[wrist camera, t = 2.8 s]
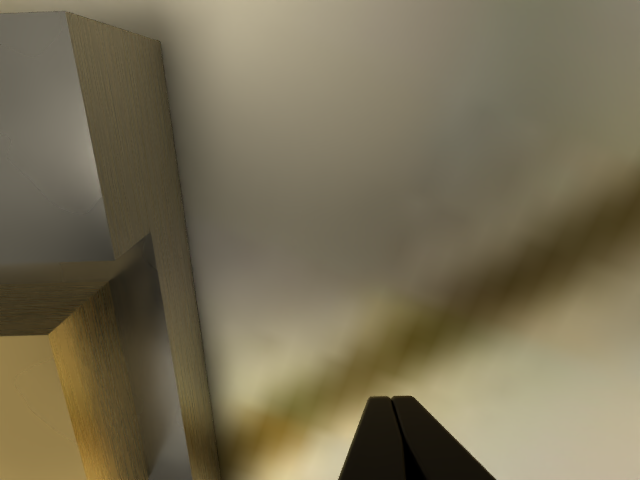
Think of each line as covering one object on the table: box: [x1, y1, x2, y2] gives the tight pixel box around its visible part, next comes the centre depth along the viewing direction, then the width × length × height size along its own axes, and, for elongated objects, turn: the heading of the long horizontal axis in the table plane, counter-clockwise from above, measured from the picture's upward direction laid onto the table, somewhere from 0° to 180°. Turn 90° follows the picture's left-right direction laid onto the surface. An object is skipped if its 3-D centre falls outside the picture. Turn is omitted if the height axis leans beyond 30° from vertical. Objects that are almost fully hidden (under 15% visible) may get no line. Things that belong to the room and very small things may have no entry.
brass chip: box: [0, 281, 149, 480], centre depth 8 cm, size 5×4×2 cm
